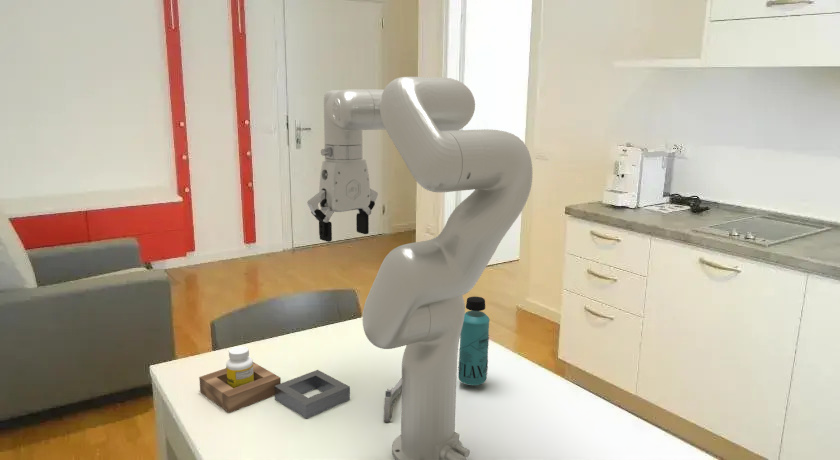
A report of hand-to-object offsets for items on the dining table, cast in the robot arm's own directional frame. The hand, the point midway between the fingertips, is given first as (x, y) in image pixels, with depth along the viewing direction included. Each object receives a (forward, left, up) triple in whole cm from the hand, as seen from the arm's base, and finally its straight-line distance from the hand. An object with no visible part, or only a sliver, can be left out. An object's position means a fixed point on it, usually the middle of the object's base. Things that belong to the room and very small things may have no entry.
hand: (344, 236), depth 128 cm
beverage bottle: (-19, -20, -34) cm, 43 cm away
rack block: (+13, +18, -33) cm, 40 cm away
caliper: (-12, -4, -34) cm, 36 cm away
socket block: (0, +9, -33) cm, 34 cm away
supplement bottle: (+13, +18, -34) cm, 40 cm away
